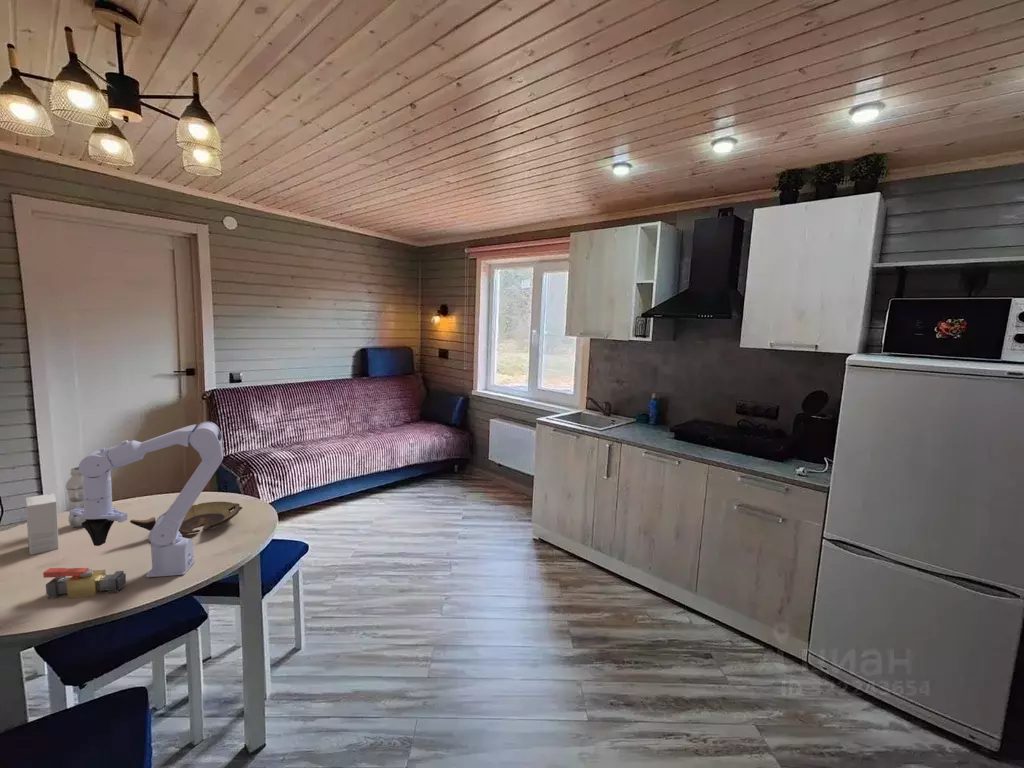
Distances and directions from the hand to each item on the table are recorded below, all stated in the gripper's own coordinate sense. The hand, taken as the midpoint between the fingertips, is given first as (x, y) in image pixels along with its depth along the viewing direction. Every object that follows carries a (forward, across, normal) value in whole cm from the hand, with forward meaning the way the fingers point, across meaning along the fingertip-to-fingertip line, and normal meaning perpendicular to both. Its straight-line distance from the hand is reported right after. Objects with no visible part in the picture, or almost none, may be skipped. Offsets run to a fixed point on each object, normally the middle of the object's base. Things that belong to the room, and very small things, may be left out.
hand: (99, 544), depth 126 cm
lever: (+6, +3, +6) cm, 9 cm away
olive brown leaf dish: (+10, -1, -33) cm, 35 cm away
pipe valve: (+10, -1, +5) cm, 12 cm away
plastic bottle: (+11, +35, -29) cm, 47 cm away
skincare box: (+11, +32, -14) cm, 36 cm away
